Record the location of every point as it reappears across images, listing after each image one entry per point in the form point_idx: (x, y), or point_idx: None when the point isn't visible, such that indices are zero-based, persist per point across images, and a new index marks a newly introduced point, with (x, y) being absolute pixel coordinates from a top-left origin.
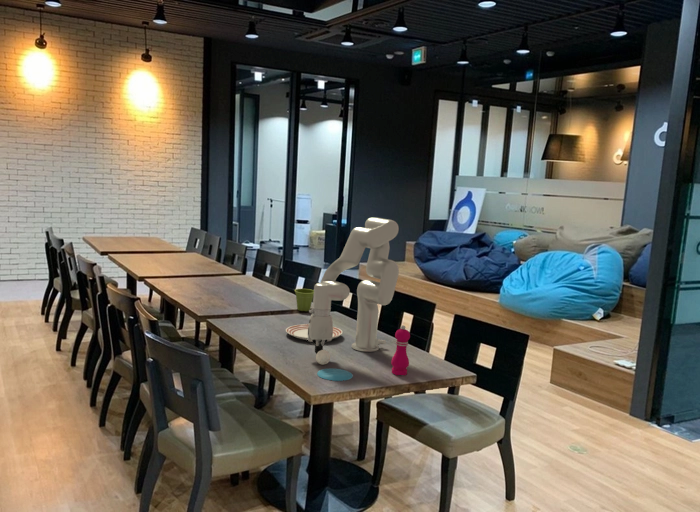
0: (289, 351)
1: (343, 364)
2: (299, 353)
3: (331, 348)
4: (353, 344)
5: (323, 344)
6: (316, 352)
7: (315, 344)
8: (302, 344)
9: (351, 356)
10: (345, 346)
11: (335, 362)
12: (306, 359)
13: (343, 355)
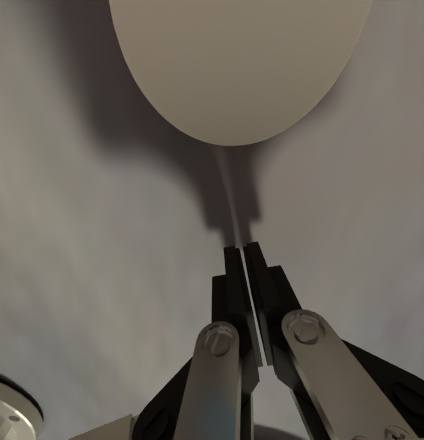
0: (404, 345)
1: (13, 80)
2: (353, 319)
3: (146, 395)
4: (24, 433)
5: (205, 346)
6: (271, 267)
7: (332, 338)
8: (290, 427)
9: (4, 293)
10: (76, 418)
11: (100, 141)
12: (347, 202)
13: (62, 306)
